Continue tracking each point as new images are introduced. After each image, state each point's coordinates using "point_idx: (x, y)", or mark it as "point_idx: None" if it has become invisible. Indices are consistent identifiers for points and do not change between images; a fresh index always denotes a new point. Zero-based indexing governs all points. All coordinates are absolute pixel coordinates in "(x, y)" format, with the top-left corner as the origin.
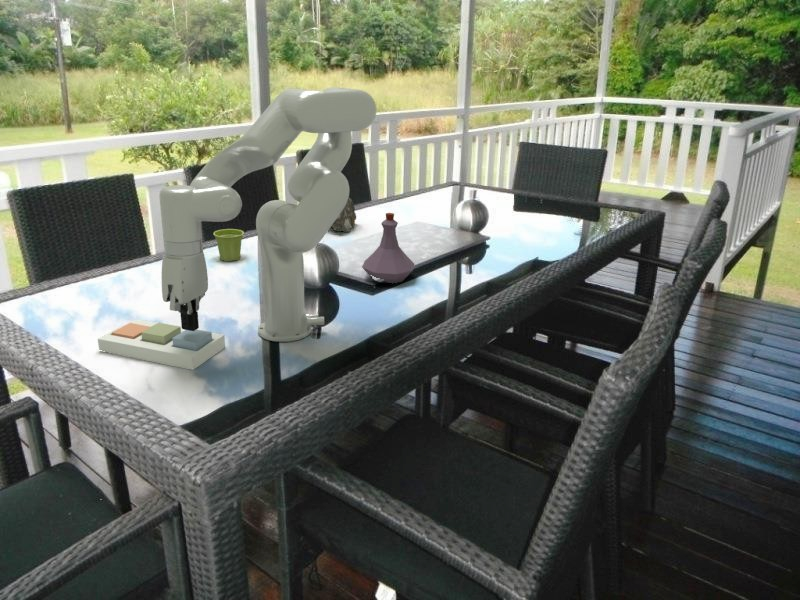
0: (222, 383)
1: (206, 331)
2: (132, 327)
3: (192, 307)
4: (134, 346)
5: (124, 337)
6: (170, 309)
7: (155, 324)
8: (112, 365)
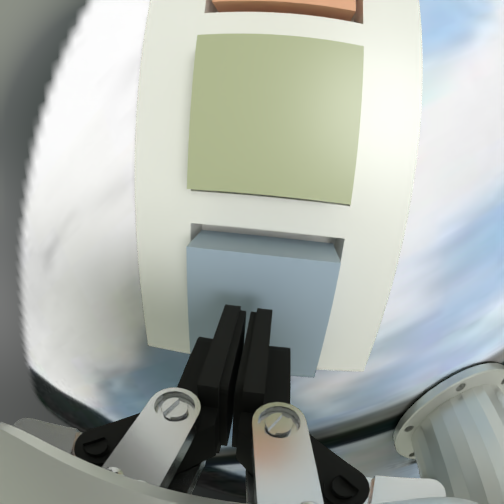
0: (146, 396)
1: (317, 358)
2: None
3: (245, 465)
4: (141, 65)
5: None
6: (20, 424)
7: (330, 42)
8: (103, 49)
